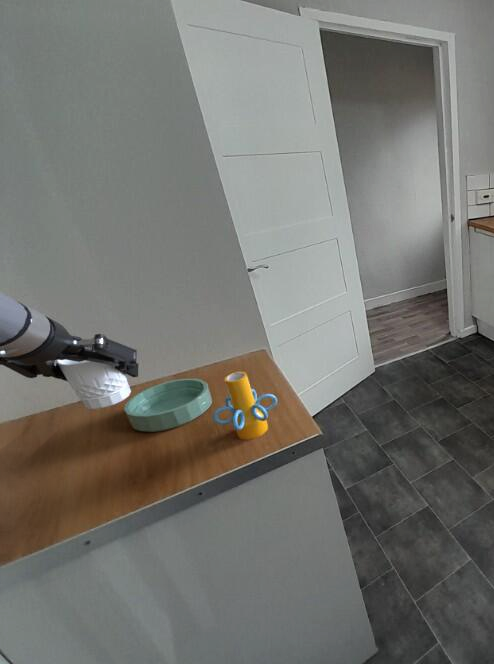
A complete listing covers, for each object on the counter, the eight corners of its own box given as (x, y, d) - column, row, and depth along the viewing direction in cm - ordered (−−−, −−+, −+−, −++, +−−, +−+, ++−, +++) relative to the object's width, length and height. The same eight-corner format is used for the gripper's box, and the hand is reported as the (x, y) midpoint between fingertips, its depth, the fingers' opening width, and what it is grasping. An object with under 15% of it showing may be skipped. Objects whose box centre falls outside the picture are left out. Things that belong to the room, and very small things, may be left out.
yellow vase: (212, 439, 91) (190, 383, 84) (253, 412, 100) (236, 359, 93) (253, 454, 87) (233, 396, 81) (292, 424, 96) (277, 370, 90)
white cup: (75, 401, 78) (51, 355, 74) (127, 382, 84) (108, 339, 80) (86, 416, 74) (62, 369, 70) (140, 396, 80) (121, 352, 76)
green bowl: (117, 439, 90) (109, 421, 88) (151, 400, 104) (144, 383, 102) (199, 427, 95) (193, 409, 93) (221, 390, 108) (216, 374, 106)
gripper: (-86, 371, 56) (37, 404, 76) (106, 347, 63) (172, 382, 83) (-76, 321, 58) (41, 365, 78) (109, 303, 65) (172, 348, 85)
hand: (109, 374), depth 81 cm, fingers closed on white cup, 8 cm apart
